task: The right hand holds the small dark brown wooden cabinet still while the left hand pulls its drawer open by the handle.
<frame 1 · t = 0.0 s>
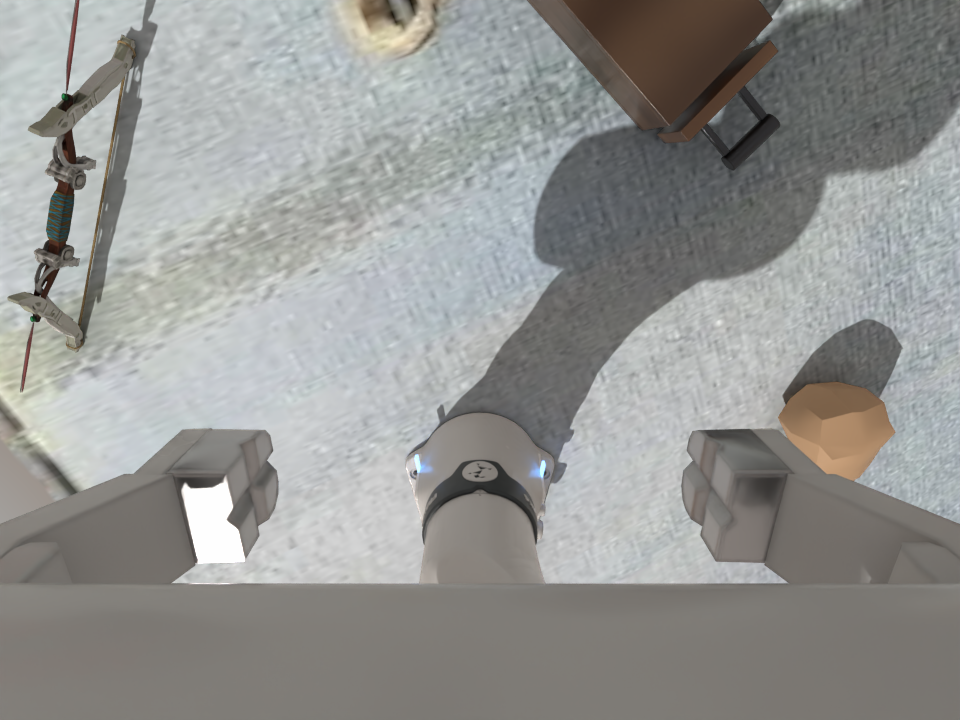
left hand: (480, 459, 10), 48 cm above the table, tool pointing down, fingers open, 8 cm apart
squash: (814, 440, 65), on the table
drawer: (676, 51, 46), point 4 cm above the table, slide at 1.2 cm
bow: (101, 209, 55), on the table
cabinet: (619, 10, 48), on the table
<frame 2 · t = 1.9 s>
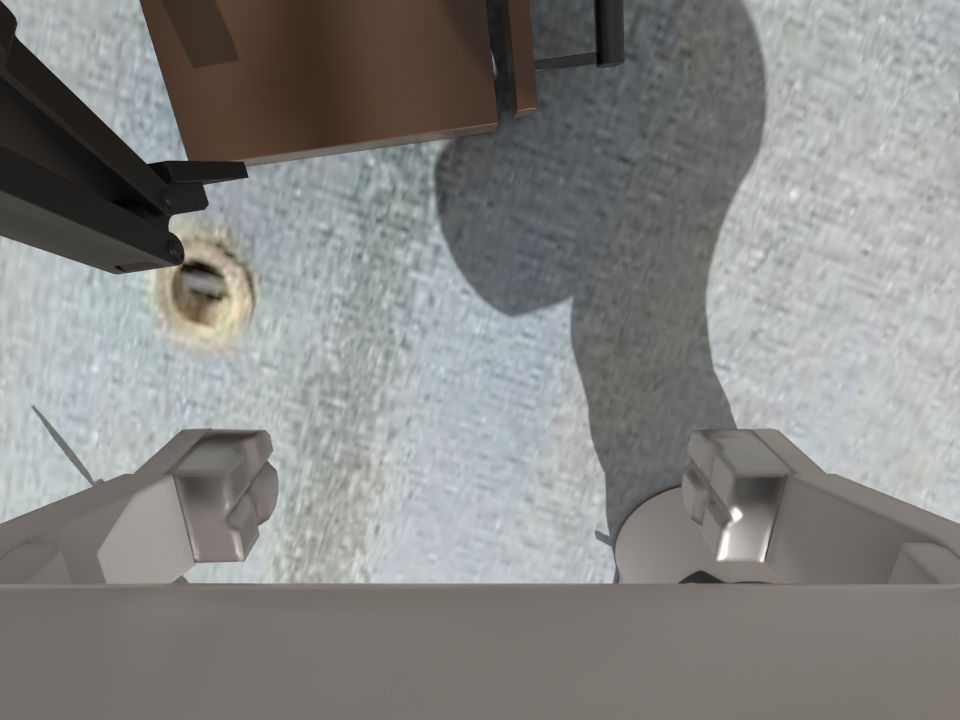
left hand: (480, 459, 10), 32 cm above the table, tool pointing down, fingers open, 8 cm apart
drawer: (433, 43, 32), point 4 cm above the table, slide at 1.2 cm
cabinet: (355, 68, 36), on the table
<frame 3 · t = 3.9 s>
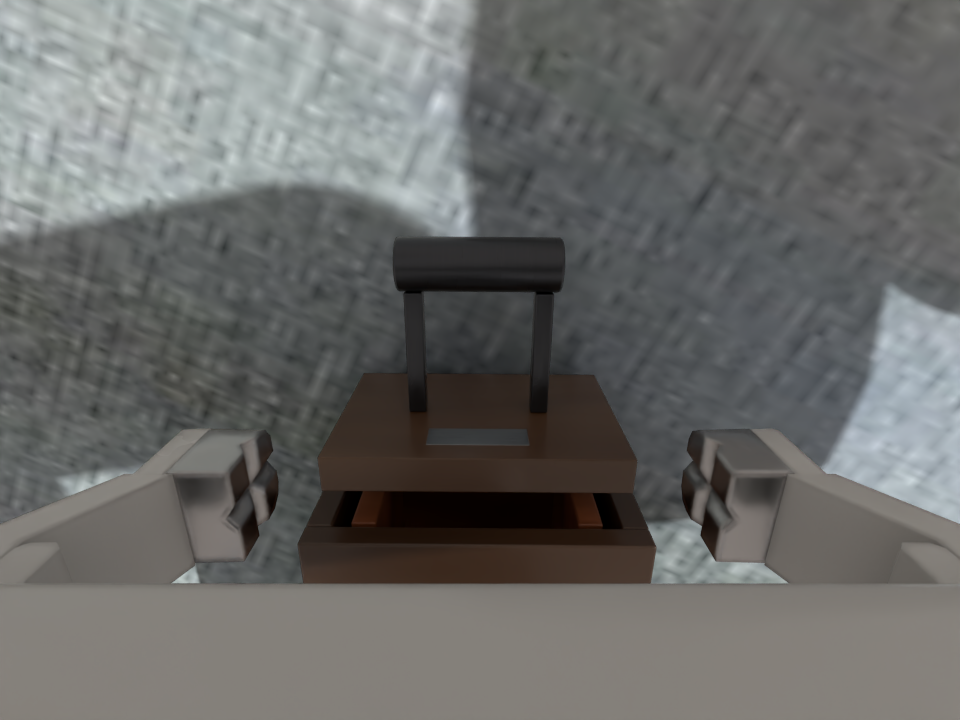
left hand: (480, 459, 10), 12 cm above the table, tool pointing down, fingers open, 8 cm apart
drawer: (477, 541, 20), point 4 cm above the table, slide at 1.2 cm
cabinet: (477, 578, 26), on the table, touching right hand
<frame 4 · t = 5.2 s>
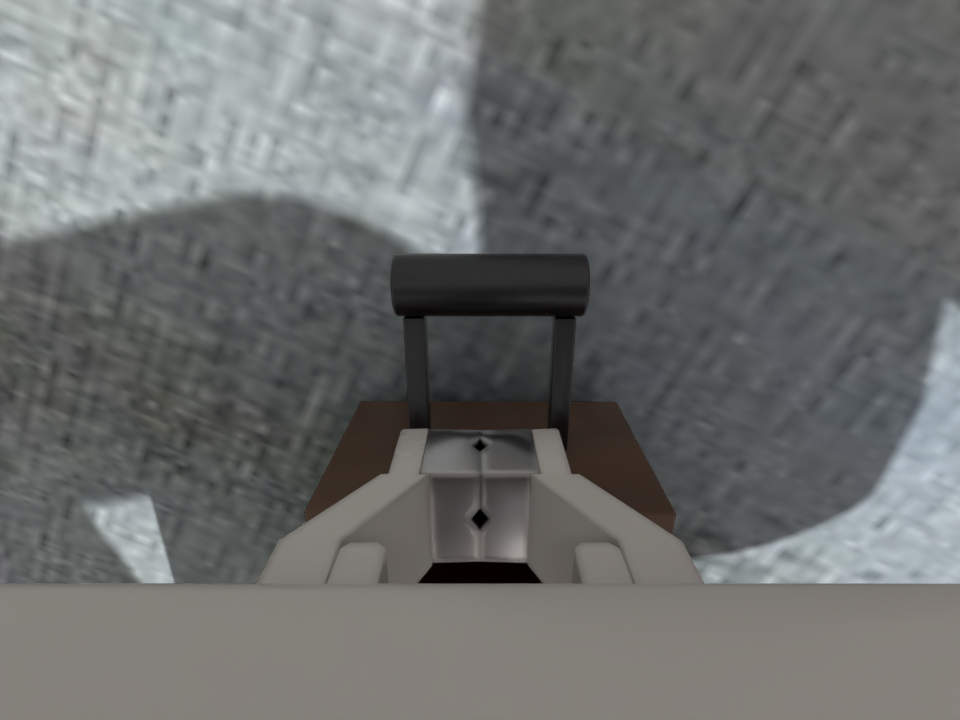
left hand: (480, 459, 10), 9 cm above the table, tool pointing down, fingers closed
drawer: (487, 589, 18), point 4 cm above the table, slide at 1.2 cm
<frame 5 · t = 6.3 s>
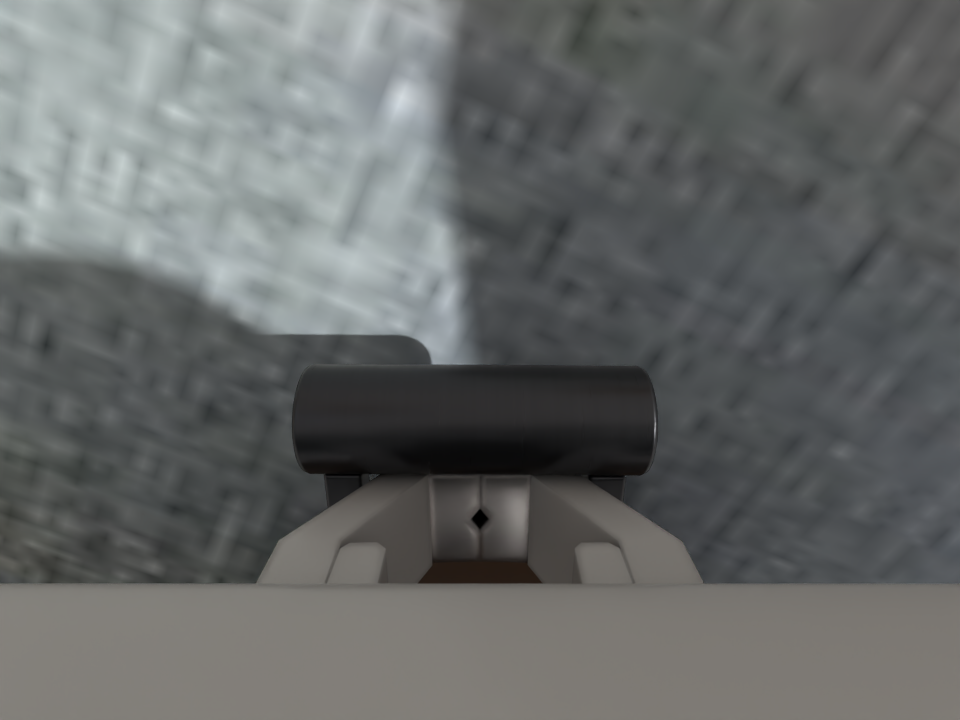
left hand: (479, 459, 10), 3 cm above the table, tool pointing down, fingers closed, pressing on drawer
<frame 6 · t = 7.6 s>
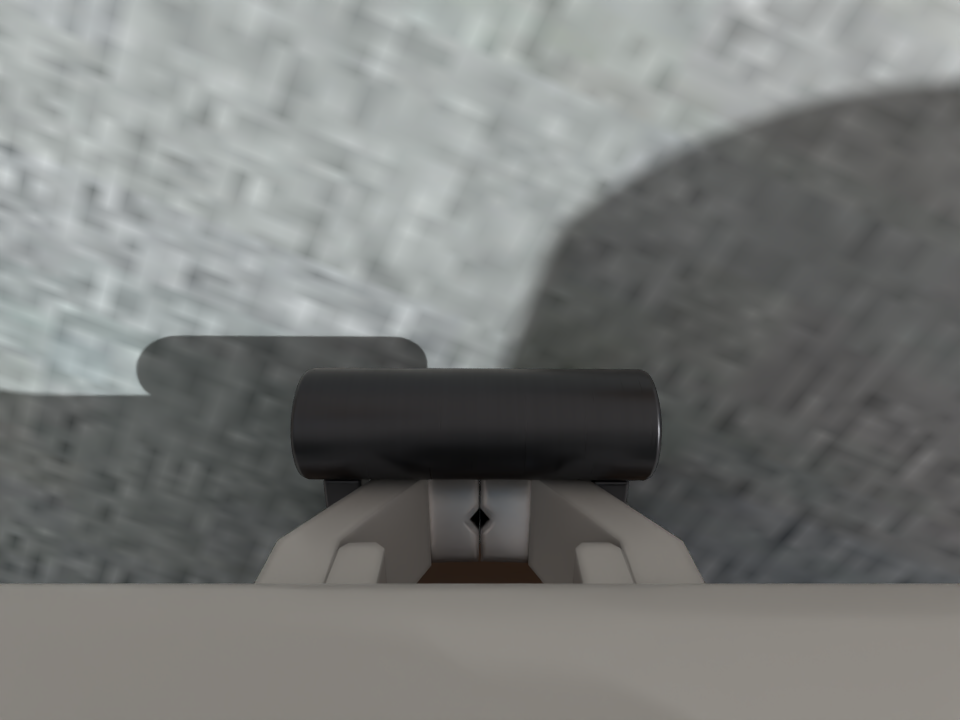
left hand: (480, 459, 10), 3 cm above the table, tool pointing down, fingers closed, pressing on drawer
when the right hand's fingers open (3 cm above the table, at t = 9.4 s): cabinet stays where it is, on the table.
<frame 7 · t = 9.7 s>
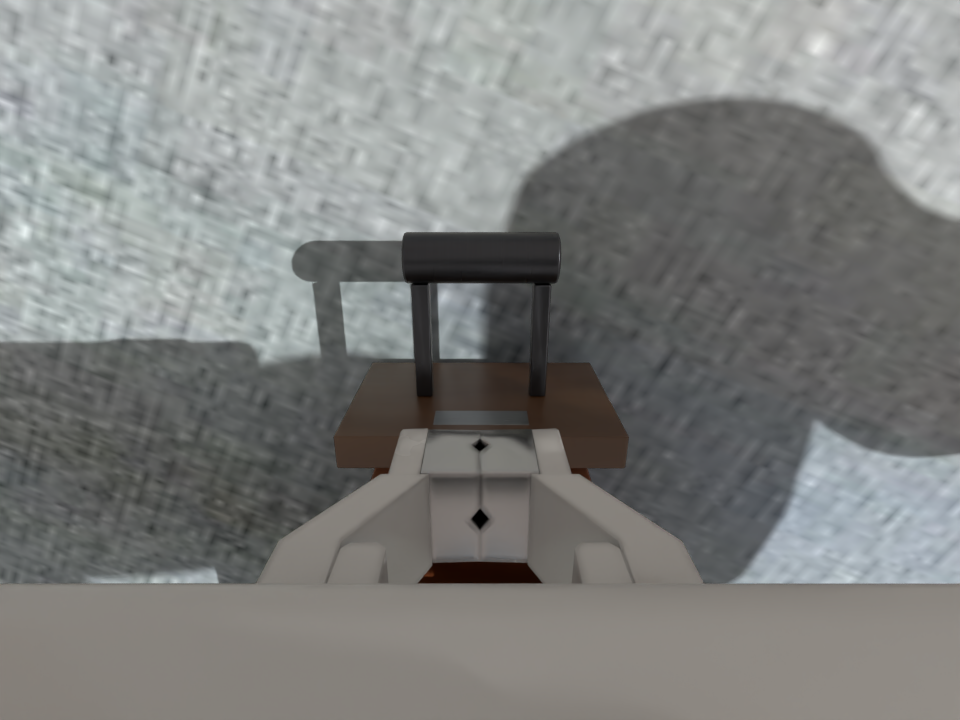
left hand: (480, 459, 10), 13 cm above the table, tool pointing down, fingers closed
drawer: (480, 519, 22), point 4 cm above the table, slide at 8.5 cm
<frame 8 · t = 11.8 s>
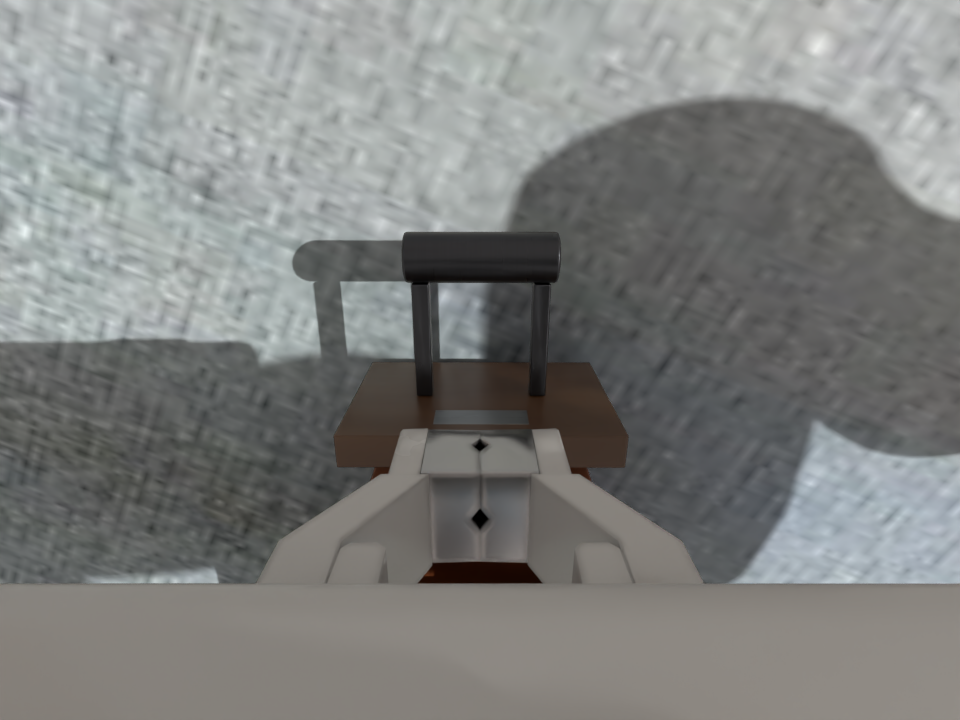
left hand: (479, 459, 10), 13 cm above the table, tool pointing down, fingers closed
drawer: (480, 519, 22), point 4 cm above the table, slide at 8.5 cm
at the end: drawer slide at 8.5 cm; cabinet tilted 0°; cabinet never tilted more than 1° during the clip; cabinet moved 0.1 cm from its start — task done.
